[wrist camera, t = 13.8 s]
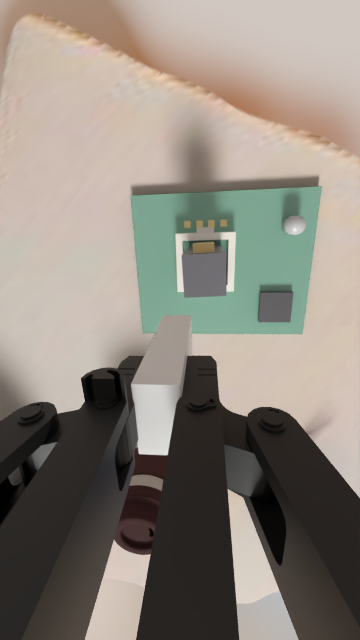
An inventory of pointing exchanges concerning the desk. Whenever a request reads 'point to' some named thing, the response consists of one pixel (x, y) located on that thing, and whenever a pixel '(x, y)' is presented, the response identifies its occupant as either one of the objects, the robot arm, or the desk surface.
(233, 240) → the header
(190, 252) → the plug
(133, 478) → the coffee cup
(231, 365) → the desk surface
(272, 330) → the board
